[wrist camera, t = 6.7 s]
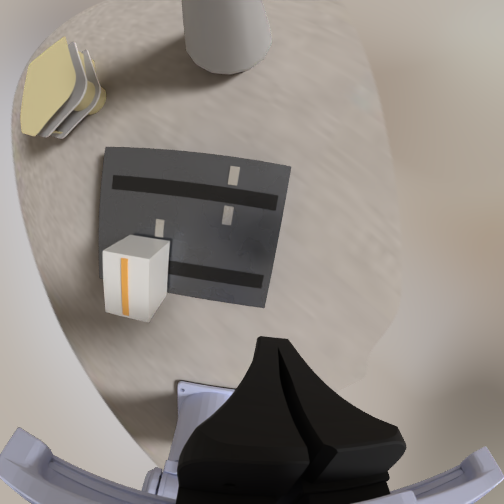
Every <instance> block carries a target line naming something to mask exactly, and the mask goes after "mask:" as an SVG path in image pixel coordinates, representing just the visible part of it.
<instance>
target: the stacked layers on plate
mask: <svg viewBox="0 0 504 504" xmlns="http://www.w3.org/2000/svg"><path fill="white" fill-rule="evenodd" d="M105 101H106V91H105V90H104V89H103V88H102V87H101V86H100V83H99V80H98V78H97V75H96V71H95V64H94V60H92V59H91V58H90V55H89V52H88V50H84V51H82V52H79V51H78V49H77V46H76V43H75V42H72V43H70V44H69V45H67V41H66V37H63V38H61V39H60V40H59V41H57V42H56V43H55V44H53V45H52V46H51V47H49V48H48V49H47V50H46V51H44V52H43V53H42V54H41V55H40V56H38V57H37V58H36V59H35V60H34V61H32V62H31V63H30V64H29V67H28V71H27V76H26V81H25V87H24V93H23V99H22V106H21V115H20V121H21V130H22V133H24V134H28V135H31V136H35V135H39V136H42V137H48V136H53V137H56V138H60V139H63V138H64V137H66V136H67V135H68V134H69V132H70V131H71V130H72V129H73V128H74V127H75V126H76V125H77V124H78V123H79V122H80V121H81V120H82V119H83V118H84V117H85V116H86V115H87V114H89V115H92V114H95V113H97V112H98V111H99V110H100V109H101V108H102V107H103V105H104V104H105Z"/></svg>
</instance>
